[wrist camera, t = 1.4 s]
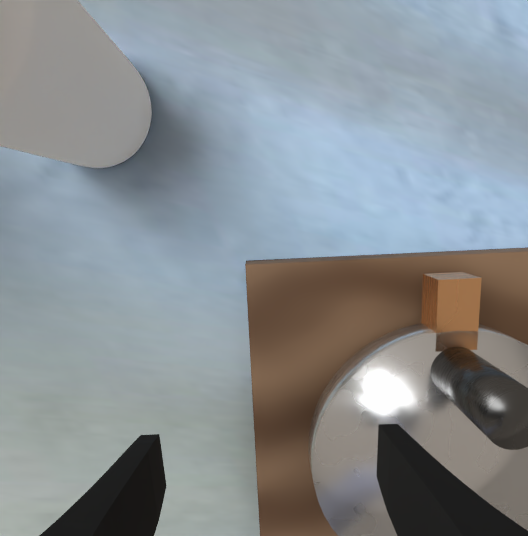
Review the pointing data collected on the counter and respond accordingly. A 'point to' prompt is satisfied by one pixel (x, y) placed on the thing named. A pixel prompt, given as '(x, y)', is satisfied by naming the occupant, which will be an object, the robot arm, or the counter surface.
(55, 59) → the can
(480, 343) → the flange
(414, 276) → the base board
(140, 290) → the counter surface
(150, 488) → the robot arm
